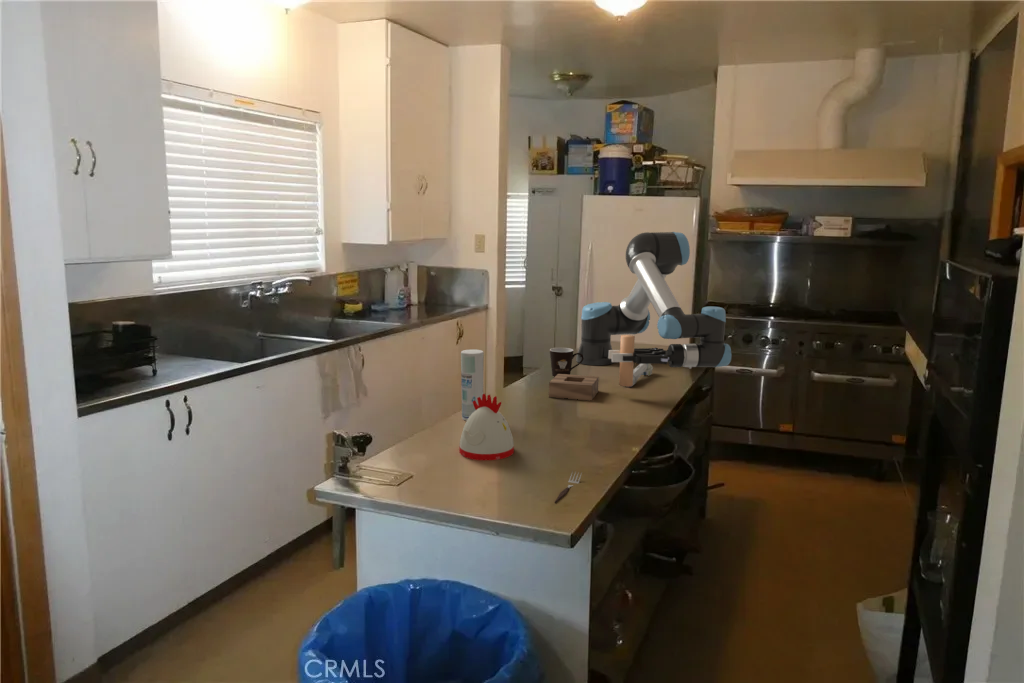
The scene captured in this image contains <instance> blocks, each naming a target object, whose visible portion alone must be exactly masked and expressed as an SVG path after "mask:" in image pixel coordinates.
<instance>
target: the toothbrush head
mask: <svg viewBox="0 0 1024 683" xmlns="http://www.w3.org/2000/svg"><path fill="white" fill-rule="evenodd" d="M653 369H654V366H653V365H652V364H638V365H637V366H636V367H635V368H633V386H635V385H636V384H637V382H638V380H639V379H640V378H641V375H648V376H652V375H653ZM651 374H652V375H651ZM628 388H632V386H629V387H628Z"/></svg>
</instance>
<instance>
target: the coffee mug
mask: <svg viewBox="0 0 1024 683" xmlns="http://www.w3.org/2000/svg"><path fill="white" fill-rule="evenodd" d="M549 354H550V355H549V356H550V368H551V375H552V376H554V377H555V376H556V375H557V374H567V375H571V371H572V370H573V369H575V368H577V367H578V366H580V365H581V362H582V361H583V355H582V354H580V353H578V352H576V353H574V349H573V348H569V347H553V348H552V347H551V348H550V349H549ZM577 355H581V356H582V360H581V361H580V362H579V363H578V362H577V363H576V364H575V365H574V366H572V364H573V359H574V358H575V356H577ZM552 376H551V377H552Z"/></svg>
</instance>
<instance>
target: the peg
mask: <svg viewBox="0 0 1024 683" xmlns="http://www.w3.org/2000/svg"><path fill="white" fill-rule="evenodd" d="M635 338H636V337H635V335H634V334H623V335H620V346H619V347H620V348H619V350H620V353H632V354H633V352H634V348H635V340H636V339H635ZM633 370H634V362H633V361H632V362H619V372H618V375H619V376H618V386H619V387H624V386H626V387H625V388H630V387H629V386H631V387H633V386H634V385H633Z"/></svg>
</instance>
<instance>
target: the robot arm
mask: <svg viewBox="0 0 1024 683" xmlns="http://www.w3.org/2000/svg"><path fill="white" fill-rule="evenodd" d="M690 251H691V250H690V242H689V240H688V238H687V236H686V235H685V233H682V232H678V231H677V232H676V231H666V232H665V231H660V232H658V231H657V232H654V231H653V232H648V231H647V232H646V231H645V232H642V233H639V234H636V235H635V236H634V237H632V238H631V240H630V241H629V242H628V244H627V247H626V249H625V263H626V265H627V267H628V269H629V271H630V272H631V273H632V274H634V275H635V276H636V278H637V280H636V281H635V284H634V285H633V287H632V289H631V291H630V293H629V295H628V296H626V297H624V298H623V299H622V300H621V301H620V303H619V304H618V305H612V303H611V302H609V301H608V302H607V301H602V302H601V301H599V302H593V303H588V304H586V305H584V306H583V307H582V309H581V317H580V318H581V324H580V325H581V329H580V330H581V333H580V338H581V339H580V340H581V341H580V345H579V348H578V350H577V353H580V354H582V355H583V361H582V362H581V363H580V365H587V366H607V365H613V364H614V363H620V362H632V361H633V362H634V363H636V364H638V365H639V364H651V365H652V364H655V365H657V364H661V365H668V366H669V367H670V368H682V367H684V368H687V369H690V370H692V368H719V367H720V368H722V367H727V366H729V365H730V363H731V361H732V355H733V354H732V349H731V345H730V344H728V343H725V330H726V323H727V320H726V318H727V316H726V315H727V314H726V310H725V308H723V307H720V306H711V305H710V306H704V307H702V308H701V312H700V313H690V314H688V313H687V314H686V313H685V311H683V309H682V307H681V306H680V304H679V302H678V301H677V300H678V299H676V298H677V297H675V295H674V294H673V292H672V290H671V288H670V287H669V285H668V283H667V281H666V280H665V279H666V277H667V276H669V275H671V274H673V273H674V271H675V270H676V268H677V267H678V266H684V265H686V264H687V263H688V262H689V259H690V254H691V252H690ZM650 304H651V305H652V306H653V308H654V310H655V312H656V314H657V315H658V321H657V324H656V326H657V327H656V328H657V329H658V330H657V331H658V335H659V336H660V338H663V339H664V340H665V339H666V340H667V339H668V340H678V339H692V338H695V339H696V338H699V343H682V344H681V343H671V344H669V345H668V348H667V349H664V348H659V347H649V348H647V347H646V348H645V347H643V348H641V347H640V348H638V347H637V348H635V347H634V352H633V354H632V353H620V349H613V347H612V343H611V341H612V340H611V339H612V336H618V335H620V336H621V335H638V334H642V333H644V332H646V331H647V329H648V327H649V324H650V320H651V315H650V314H651V313H650V310H649V306H650ZM581 360H582V356H581V355H576V360H575V361H576V362H577V364H578V363H579V362H580V361H581Z"/></svg>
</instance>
